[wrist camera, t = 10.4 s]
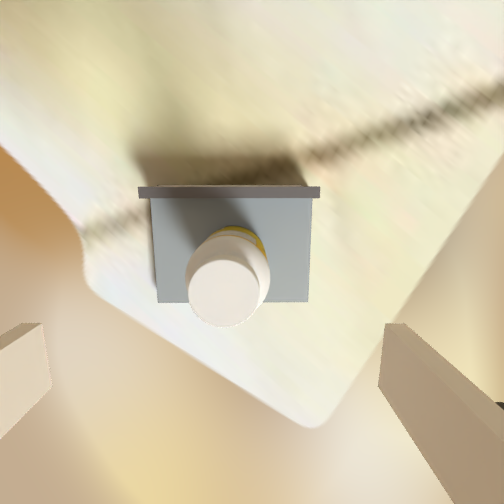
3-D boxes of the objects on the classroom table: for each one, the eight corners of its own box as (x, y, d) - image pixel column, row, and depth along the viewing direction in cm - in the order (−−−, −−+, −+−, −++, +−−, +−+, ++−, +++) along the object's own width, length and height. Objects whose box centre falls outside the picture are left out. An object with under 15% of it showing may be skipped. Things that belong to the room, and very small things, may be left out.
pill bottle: (241, 297, 31) (235, 359, 20) (190, 262, 30) (153, 305, 19) (278, 248, 30) (294, 284, 18) (226, 211, 29) (210, 224, 18)
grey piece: (155, 185, 30) (137, 185, 26) (308, 185, 31) (320, 184, 26) (163, 296, 33) (148, 314, 28) (304, 295, 33) (314, 313, 28)
